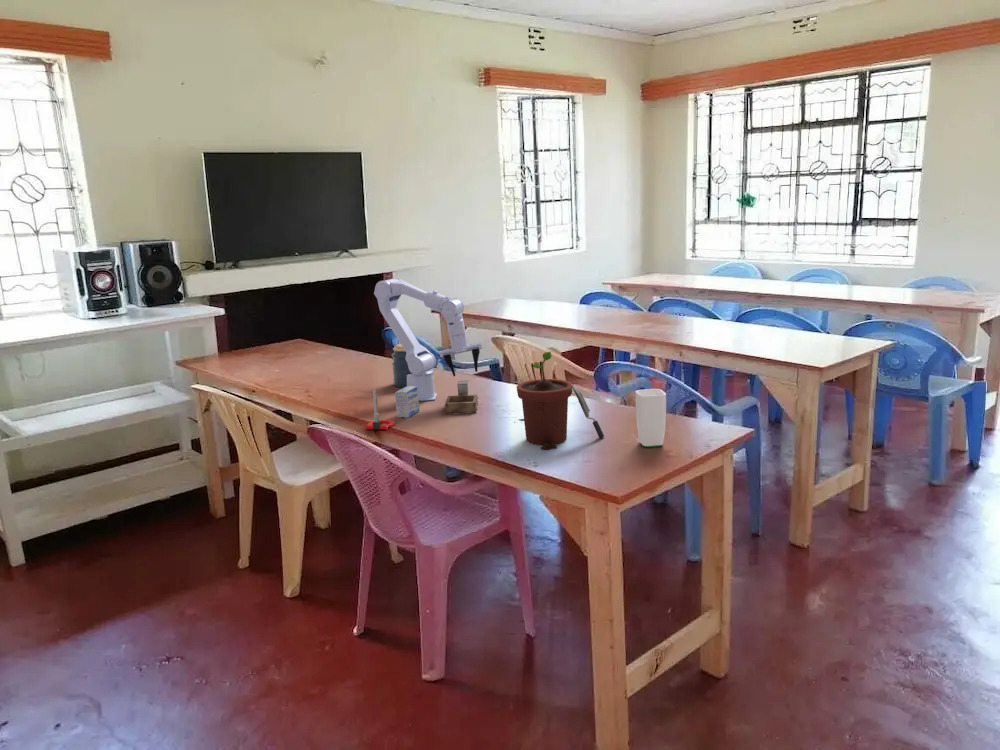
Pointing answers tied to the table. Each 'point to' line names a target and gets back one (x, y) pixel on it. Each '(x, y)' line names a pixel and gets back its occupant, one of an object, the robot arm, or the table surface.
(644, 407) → the cup
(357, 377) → the table surface
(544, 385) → the potted plant
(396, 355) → the canister
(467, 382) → the grey two-tone block
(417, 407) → the medicine box
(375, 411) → the tow hook
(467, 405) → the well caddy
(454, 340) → the robot arm
